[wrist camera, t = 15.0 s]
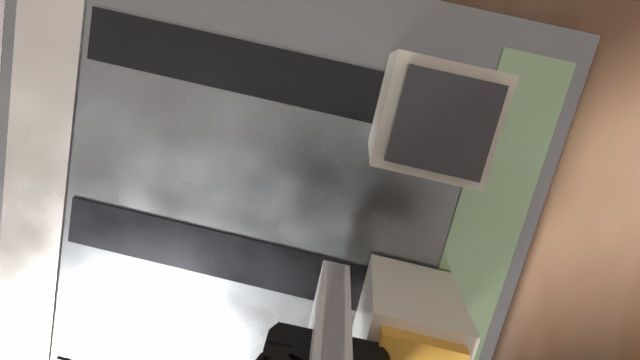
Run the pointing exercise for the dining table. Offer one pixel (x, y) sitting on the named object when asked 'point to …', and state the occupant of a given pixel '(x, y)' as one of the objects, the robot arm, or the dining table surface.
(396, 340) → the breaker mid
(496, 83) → the block
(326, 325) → the robot arm
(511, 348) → the dining table surface
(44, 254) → the panel
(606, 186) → the dining table surface
